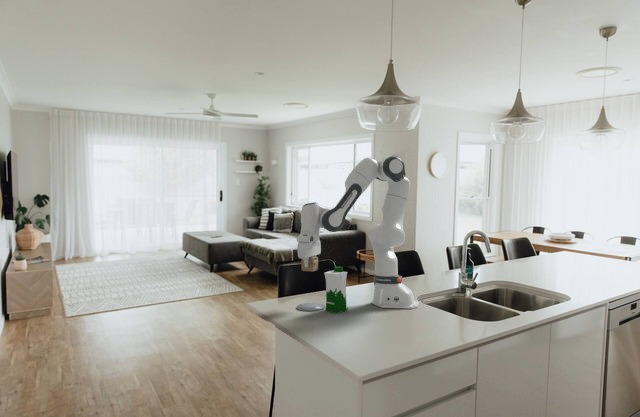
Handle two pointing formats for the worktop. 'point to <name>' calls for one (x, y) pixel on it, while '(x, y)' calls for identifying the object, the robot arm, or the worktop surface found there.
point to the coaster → (310, 307)
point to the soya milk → (336, 290)
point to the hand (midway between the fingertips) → (309, 265)
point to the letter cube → (310, 264)
